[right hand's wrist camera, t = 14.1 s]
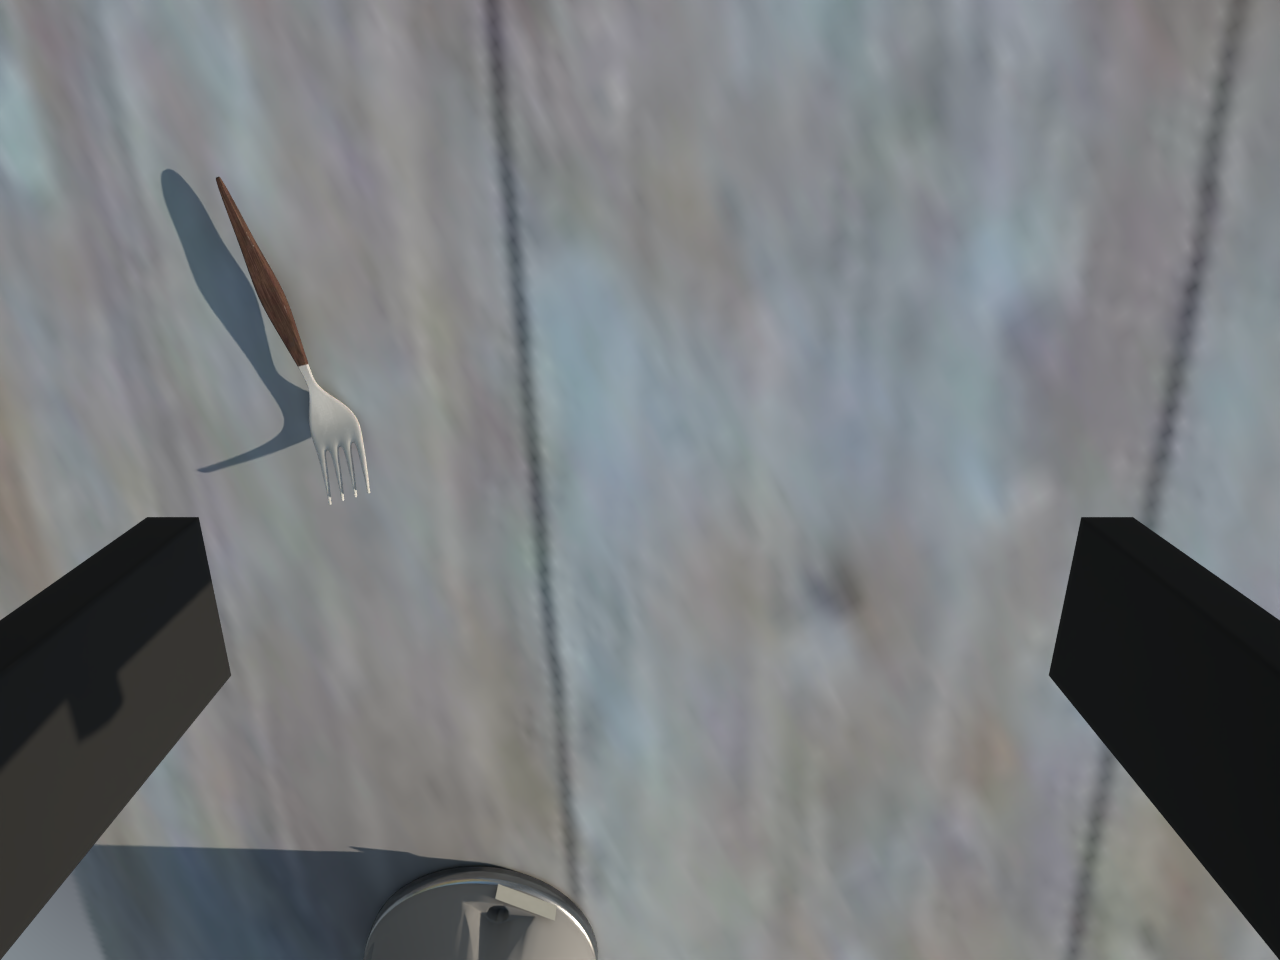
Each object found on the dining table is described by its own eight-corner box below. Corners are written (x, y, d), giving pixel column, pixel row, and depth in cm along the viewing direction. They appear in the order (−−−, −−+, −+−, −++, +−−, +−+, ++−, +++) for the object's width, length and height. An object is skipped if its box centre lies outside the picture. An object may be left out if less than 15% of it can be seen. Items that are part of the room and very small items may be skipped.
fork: (249, 168, 38) (228, 168, 36) (384, 478, 43) (373, 492, 41) (197, 185, 38) (174, 186, 36) (339, 492, 43) (325, 506, 42)
